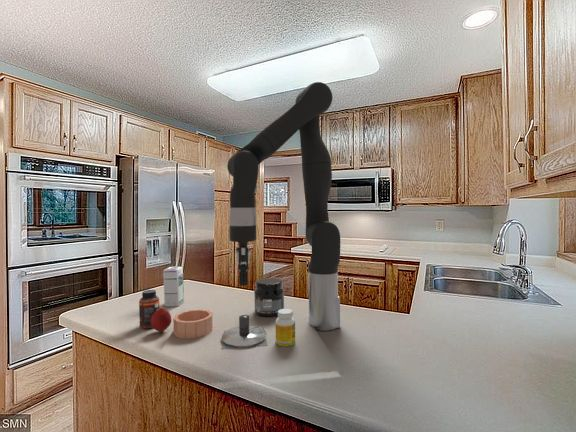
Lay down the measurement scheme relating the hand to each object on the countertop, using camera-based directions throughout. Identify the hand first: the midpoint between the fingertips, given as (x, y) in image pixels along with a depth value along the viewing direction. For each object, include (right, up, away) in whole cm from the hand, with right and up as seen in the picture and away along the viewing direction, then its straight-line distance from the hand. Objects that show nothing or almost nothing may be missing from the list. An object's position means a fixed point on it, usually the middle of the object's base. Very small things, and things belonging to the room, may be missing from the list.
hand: (243, 281), depth 86 cm
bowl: (-16, -17, +6) cm, 24 cm away
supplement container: (+6, -17, +22) cm, 28 cm away
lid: (0, -16, 0) cm, 16 cm away
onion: (-26, -17, +7) cm, 32 cm away
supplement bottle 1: (-32, -17, +13) cm, 39 cm away
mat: (0, -17, 0) cm, 17 cm away
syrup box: (-33, -17, +35) cm, 50 cm away
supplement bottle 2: (+12, -17, -3) cm, 21 cm away
